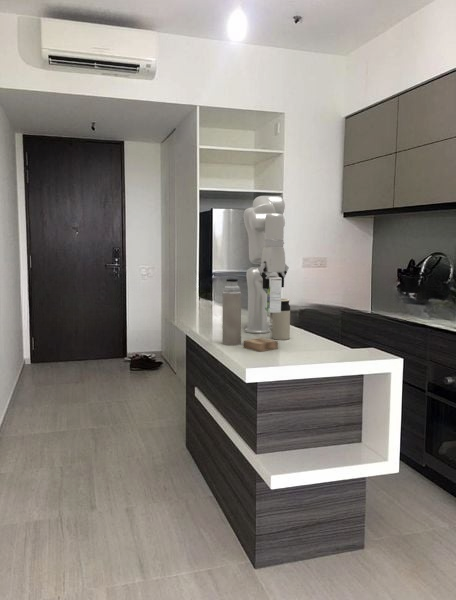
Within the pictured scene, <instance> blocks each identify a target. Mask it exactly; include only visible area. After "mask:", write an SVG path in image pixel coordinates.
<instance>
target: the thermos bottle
mask: <svg viewBox="0 0 456 600" xmlns="http://www.w3.org/2000/svg"><path fill="white" fill-rule="evenodd" d="M225 281H226V284H225V286H224V289H223V292H222V344H223V345H225V346H239V345H241V344H242V292H241V287H240V286H239V284H238V279H236V278H227V279H225Z"/></svg>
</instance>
